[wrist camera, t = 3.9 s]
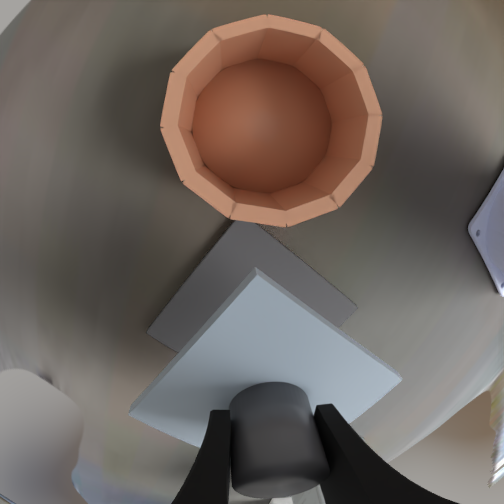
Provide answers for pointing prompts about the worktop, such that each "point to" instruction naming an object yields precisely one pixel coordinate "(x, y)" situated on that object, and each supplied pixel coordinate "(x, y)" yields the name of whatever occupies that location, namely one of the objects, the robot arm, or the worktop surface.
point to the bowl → (271, 120)
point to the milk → (281, 500)
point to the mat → (233, 273)
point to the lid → (265, 386)
